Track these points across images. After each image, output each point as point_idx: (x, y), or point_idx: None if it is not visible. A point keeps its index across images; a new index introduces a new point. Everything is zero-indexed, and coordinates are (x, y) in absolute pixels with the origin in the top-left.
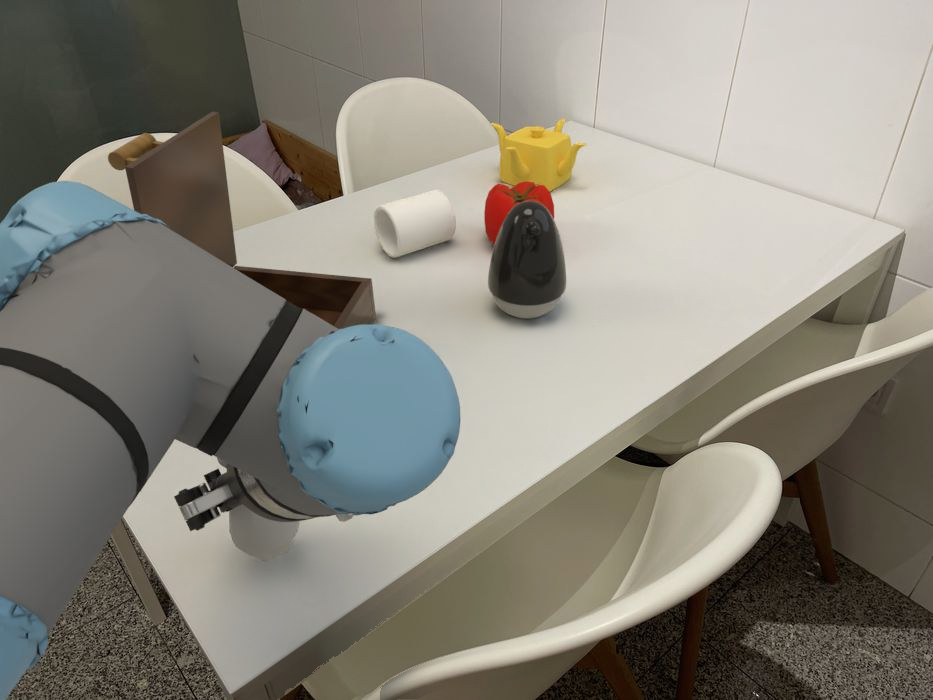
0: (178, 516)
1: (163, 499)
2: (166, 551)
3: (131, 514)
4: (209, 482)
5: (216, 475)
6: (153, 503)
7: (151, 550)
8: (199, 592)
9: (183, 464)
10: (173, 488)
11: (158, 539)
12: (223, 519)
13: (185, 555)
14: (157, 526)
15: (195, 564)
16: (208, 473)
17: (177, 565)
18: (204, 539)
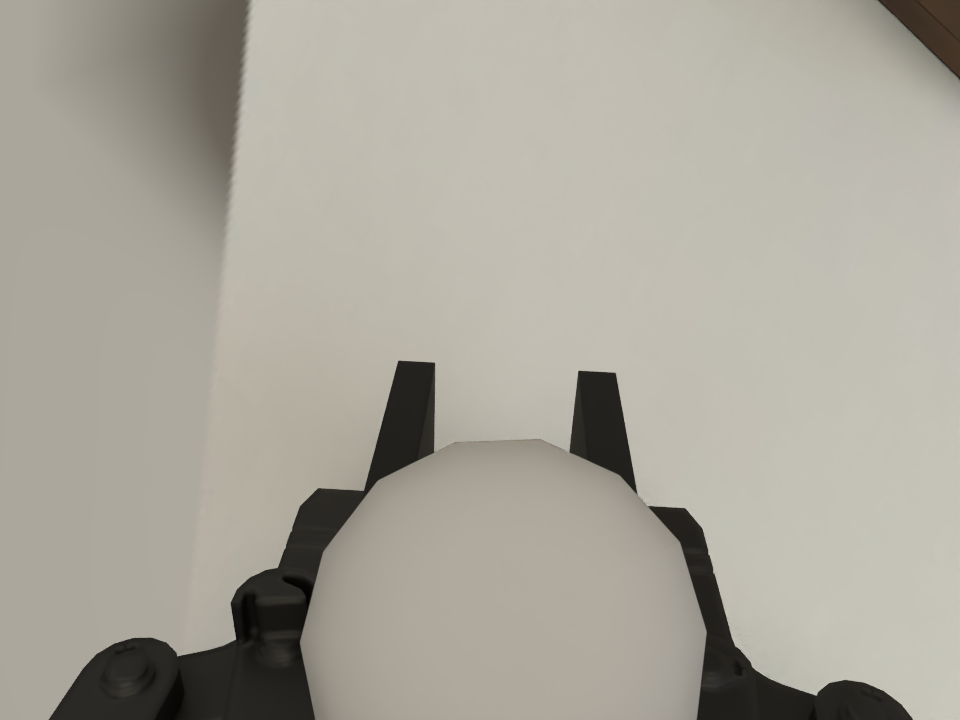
0: (340, 254)
1: (337, 162)
2: (250, 357)
3: (240, 156)
4: (254, 628)
5: (299, 626)
6: (307, 157)
7: (219, 323)
8: (248, 574)
9: (449, 69)
10: (380, 140)
11: (254, 298)
12: (439, 358)
13: (284, 411)
14: (275, 249)
15: (290, 464)
16: (262, 601)
17: (248, 430)
18: (356, 392)
